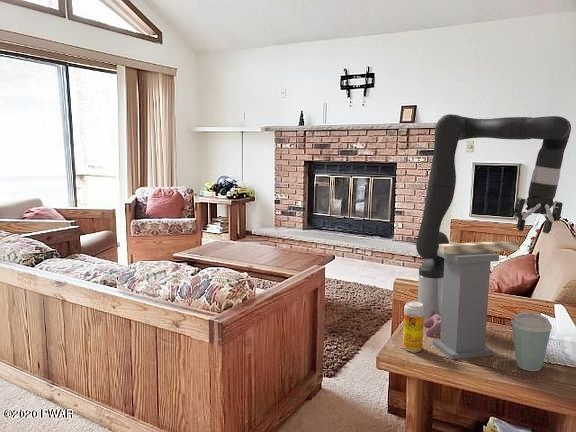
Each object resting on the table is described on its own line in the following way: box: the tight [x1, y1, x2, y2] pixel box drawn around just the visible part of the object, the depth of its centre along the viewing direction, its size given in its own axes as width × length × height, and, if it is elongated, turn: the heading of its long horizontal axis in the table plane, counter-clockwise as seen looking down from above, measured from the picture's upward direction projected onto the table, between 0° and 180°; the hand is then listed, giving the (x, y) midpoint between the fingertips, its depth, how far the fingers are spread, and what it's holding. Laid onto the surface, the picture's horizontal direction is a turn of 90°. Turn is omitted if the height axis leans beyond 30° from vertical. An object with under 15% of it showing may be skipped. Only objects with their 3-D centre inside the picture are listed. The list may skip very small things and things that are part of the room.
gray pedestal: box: [432, 249, 500, 360], centre depth 145 cm, size 14×11×32 cm
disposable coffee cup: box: [510, 312, 553, 372], centre depth 136 cm, size 11×11×15 cm
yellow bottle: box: [402, 300, 425, 353], centre depth 147 cm, size 6×6×15 cm
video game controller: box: [423, 314, 441, 337], centre depth 162 cm, size 10×5×7 cm, turn 169°
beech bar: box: [439, 240, 520, 254], centre depth 144 cm, size 26×3×2 cm, turn 103°
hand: (532, 231), depth 148 cm, fingers open, 8 cm apart
